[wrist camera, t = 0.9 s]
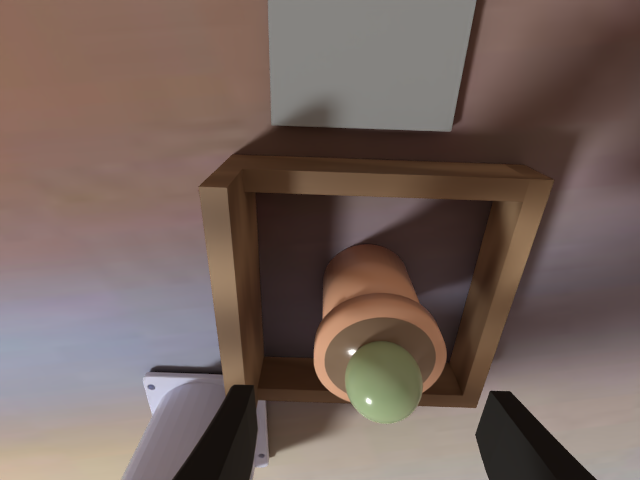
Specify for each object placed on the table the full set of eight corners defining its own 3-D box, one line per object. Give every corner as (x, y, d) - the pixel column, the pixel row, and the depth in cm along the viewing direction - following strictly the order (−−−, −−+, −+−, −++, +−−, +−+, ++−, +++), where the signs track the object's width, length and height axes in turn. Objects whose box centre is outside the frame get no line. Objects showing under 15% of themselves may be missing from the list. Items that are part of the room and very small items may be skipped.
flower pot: (406, 321, 21) (451, 464, 14) (315, 317, 21) (309, 459, 14) (420, 240, 19) (486, 360, 11) (318, 236, 19) (313, 353, 11)
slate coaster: (446, 129, 16) (450, 131, 16) (273, 123, 16) (271, 125, 16) (490, -103, 12) (497, -110, 12) (266, -111, 12) (264, -119, 12)
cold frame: (461, 374, 23) (494, 449, 19) (249, 367, 23) (231, 440, 19) (523, 164, 17) (596, 200, 12) (232, 154, 17) (198, 186, 12)
